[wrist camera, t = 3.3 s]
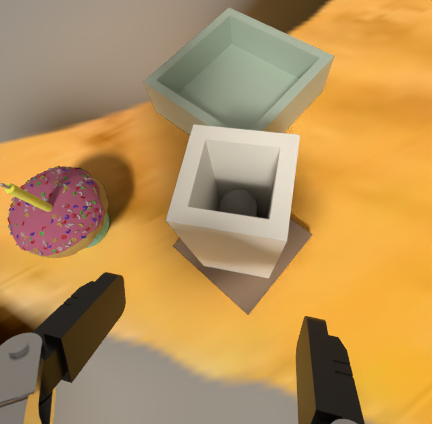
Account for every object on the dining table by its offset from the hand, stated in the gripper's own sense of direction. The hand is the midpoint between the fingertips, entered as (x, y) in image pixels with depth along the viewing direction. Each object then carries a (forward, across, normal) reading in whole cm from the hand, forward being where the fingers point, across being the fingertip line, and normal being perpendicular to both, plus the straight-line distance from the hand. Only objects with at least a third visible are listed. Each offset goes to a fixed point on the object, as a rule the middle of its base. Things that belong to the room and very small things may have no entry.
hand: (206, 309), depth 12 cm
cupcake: (+13, +16, +6) cm, 21 cm away
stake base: (+14, 0, +5) cm, 14 cm away
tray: (+26, +4, -7) cm, 27 cm away
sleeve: (+13, 0, +4) cm, 13 cm away
